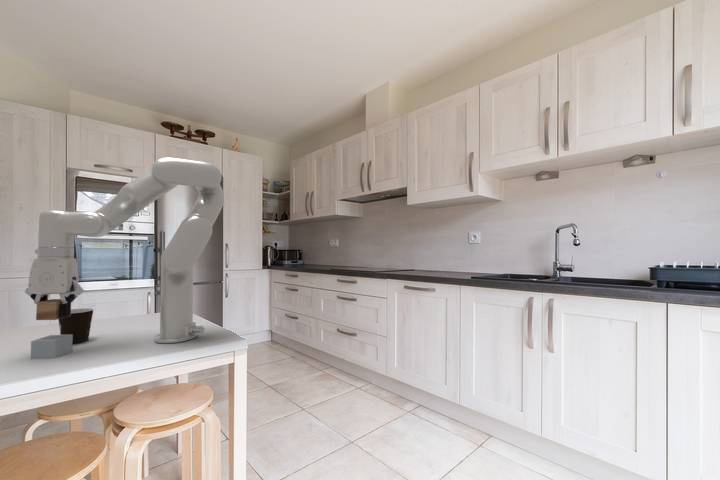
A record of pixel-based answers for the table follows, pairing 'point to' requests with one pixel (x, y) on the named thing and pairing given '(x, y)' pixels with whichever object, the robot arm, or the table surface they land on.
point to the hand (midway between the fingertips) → (53, 316)
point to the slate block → (51, 346)
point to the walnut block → (48, 309)
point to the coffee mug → (77, 324)
